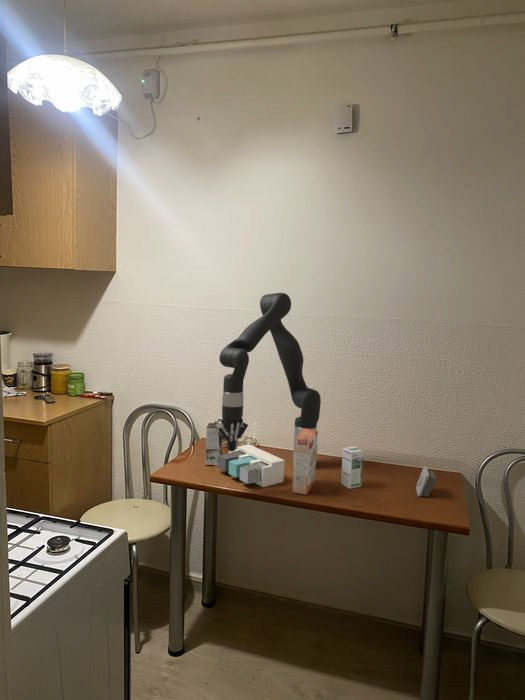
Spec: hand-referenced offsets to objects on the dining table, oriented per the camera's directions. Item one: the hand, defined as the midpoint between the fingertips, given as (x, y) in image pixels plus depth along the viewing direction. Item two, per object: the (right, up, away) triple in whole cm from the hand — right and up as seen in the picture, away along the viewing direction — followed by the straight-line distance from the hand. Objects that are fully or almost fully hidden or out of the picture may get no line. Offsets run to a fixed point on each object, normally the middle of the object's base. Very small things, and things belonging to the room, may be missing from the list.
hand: (231, 450), depth 186 cm
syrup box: (+45, -16, +11) cm, 49 cm away
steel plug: (+8, -12, +8) cm, 17 cm away
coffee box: (-9, -11, +31) cm, 34 cm away
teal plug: (+4, -12, +14) cm, 19 cm away
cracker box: (+27, -16, +7) cm, 32 cm away
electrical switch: (+72, -17, +6) cm, 74 cm away
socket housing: (+8, -13, +18) cm, 24 cm away
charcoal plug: (-1, -11, +20) cm, 23 cm away
